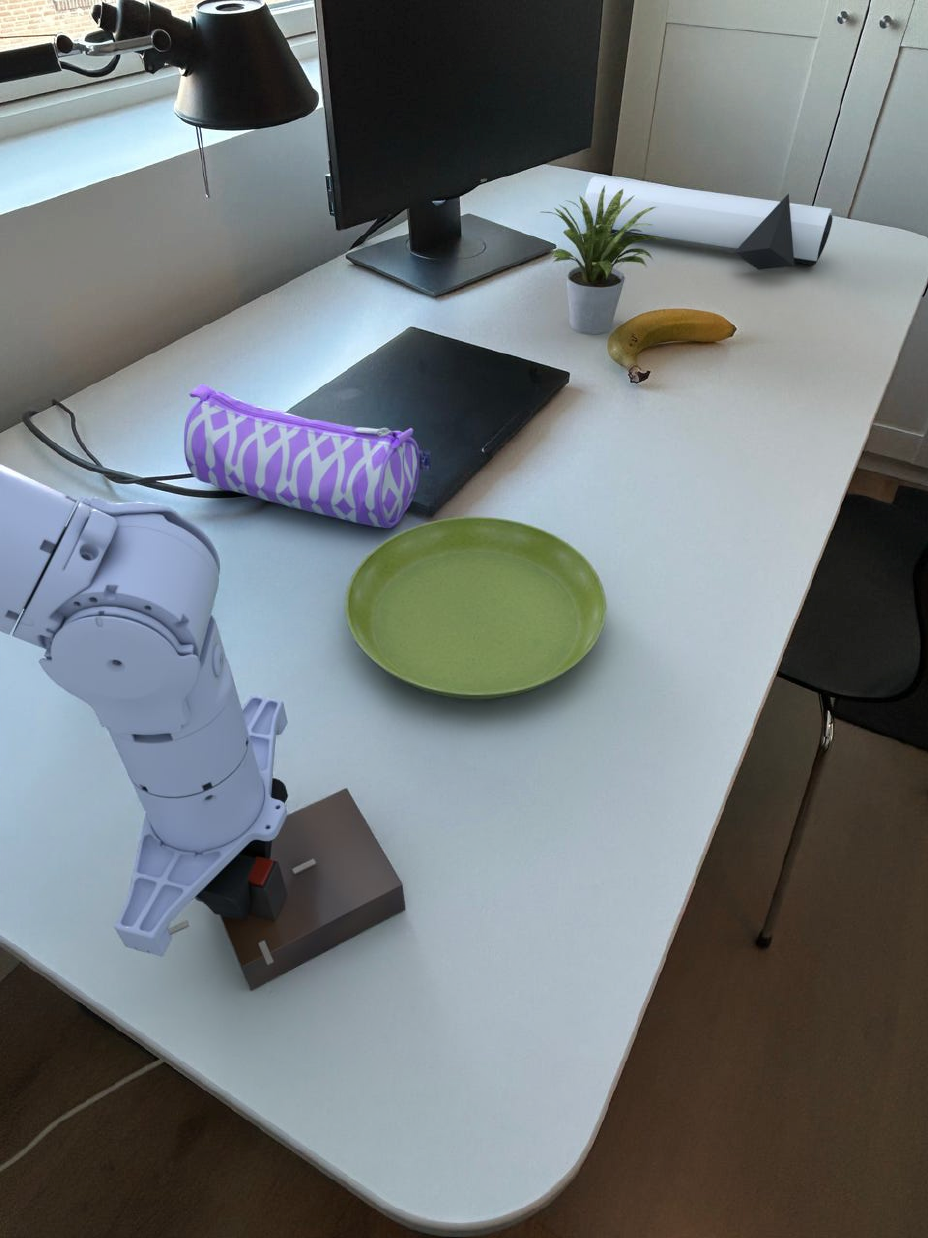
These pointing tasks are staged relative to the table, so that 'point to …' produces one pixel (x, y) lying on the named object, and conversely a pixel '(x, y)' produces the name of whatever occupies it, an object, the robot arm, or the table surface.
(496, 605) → the green plate
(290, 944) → the stand
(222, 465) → the pencil case
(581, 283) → the house plant
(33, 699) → the table surface
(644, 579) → the table surface
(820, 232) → the diploma
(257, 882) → the stamp handle
